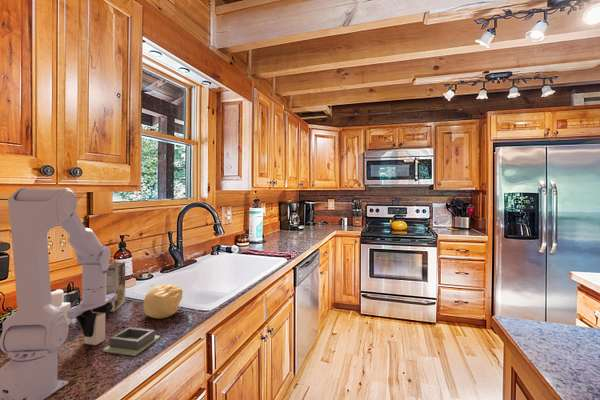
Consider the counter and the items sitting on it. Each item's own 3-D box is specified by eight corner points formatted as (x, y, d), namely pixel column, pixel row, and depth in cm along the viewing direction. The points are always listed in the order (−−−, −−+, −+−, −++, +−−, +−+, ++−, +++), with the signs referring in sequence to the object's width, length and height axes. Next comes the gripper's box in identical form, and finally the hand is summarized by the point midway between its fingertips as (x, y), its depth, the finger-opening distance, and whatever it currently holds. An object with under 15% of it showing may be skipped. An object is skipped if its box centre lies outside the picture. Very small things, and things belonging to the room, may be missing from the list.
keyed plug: (96, 345, 82) (96, 317, 82) (82, 343, 83) (82, 315, 83) (105, 339, 85) (105, 312, 85) (91, 338, 86) (92, 311, 86)
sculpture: (165, 324, 96) (165, 291, 96) (135, 319, 99) (136, 288, 99) (187, 311, 107) (187, 282, 107) (160, 307, 110) (160, 279, 110)
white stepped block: (29, 333, 88) (29, 294, 88) (48, 323, 95) (49, 287, 95) (53, 334, 88) (53, 294, 88) (71, 323, 95) (71, 287, 95)
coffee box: (107, 303, 113) (108, 262, 113) (125, 302, 114) (126, 261, 114) (95, 312, 104) (96, 267, 104) (115, 311, 106) (115, 267, 105)
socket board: (135, 355, 77) (135, 344, 77) (102, 351, 79) (103, 340, 79) (160, 337, 87) (160, 327, 87) (130, 334, 89) (130, 324, 89)
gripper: (103, 278, 92) (103, 321, 92) (57, 293, 77) (57, 344, 77) (123, 280, 90) (122, 323, 90) (80, 295, 76) (79, 347, 76)
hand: (94, 333), depth 84 cm, fingers closed on keyed plug, 3 cm apart
